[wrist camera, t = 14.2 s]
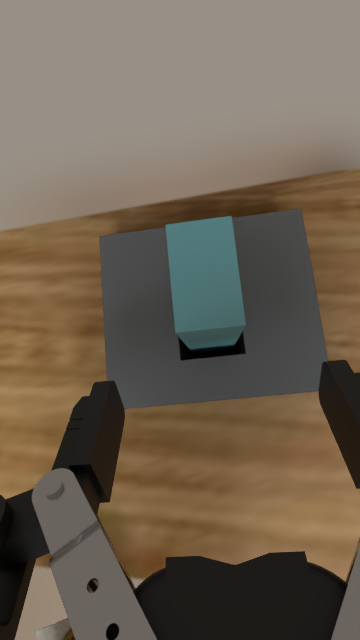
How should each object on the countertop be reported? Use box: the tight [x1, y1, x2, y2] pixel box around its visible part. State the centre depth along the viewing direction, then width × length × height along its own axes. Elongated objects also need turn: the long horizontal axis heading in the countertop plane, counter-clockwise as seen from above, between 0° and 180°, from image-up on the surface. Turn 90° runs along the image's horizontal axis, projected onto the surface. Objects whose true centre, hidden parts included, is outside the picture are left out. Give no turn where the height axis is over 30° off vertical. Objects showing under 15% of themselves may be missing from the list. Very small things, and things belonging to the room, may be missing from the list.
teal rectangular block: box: [166, 216, 246, 354], centre depth 21 cm, size 3×5×12 cm, turn 5°
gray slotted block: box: [99, 209, 328, 409], centre depth 24 cm, size 14×12×4 cm
